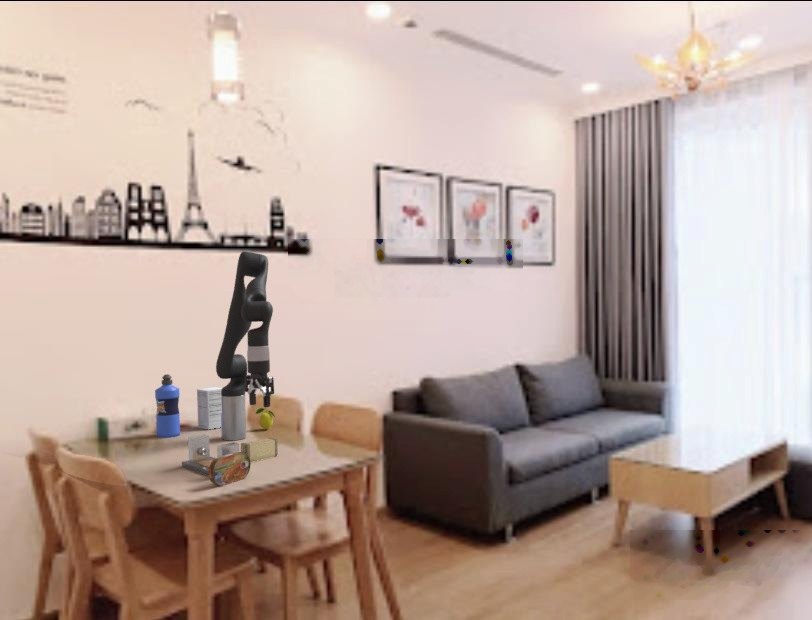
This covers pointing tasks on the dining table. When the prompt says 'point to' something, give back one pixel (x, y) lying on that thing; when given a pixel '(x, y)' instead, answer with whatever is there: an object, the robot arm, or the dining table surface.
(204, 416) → the supplement box
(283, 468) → the dining table surface
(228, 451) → the stand
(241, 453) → the tin
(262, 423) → the lemon
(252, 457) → the block
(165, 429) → the water bottle
